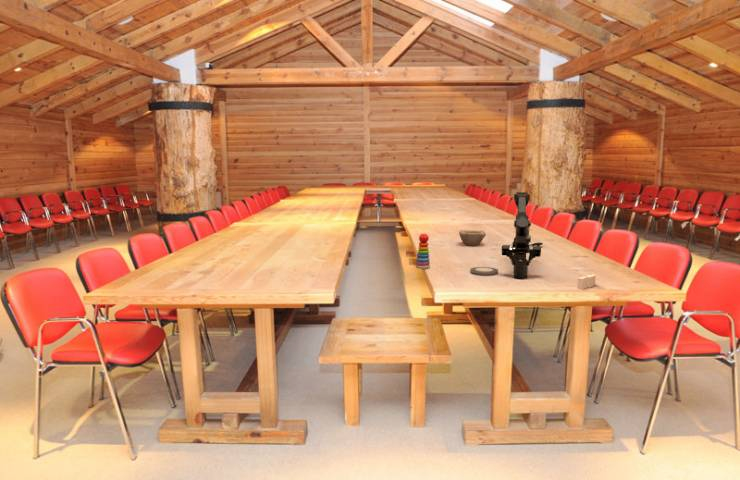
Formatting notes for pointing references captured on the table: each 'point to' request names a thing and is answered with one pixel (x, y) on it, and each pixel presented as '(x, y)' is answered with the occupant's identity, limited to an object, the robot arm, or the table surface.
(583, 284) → the napkin holder
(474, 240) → the mortar
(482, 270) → the hub pad
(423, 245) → the stacking toy
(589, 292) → the table surface
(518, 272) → the supplement bottle
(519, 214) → the robot arm
